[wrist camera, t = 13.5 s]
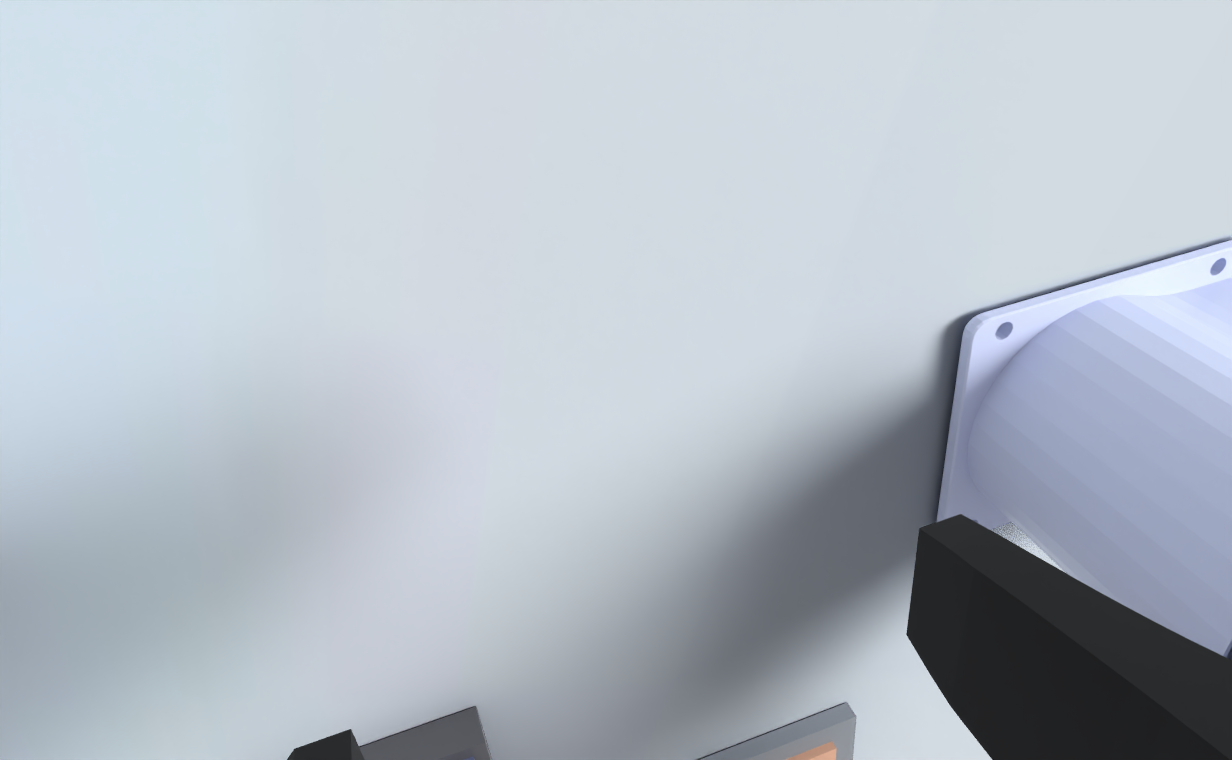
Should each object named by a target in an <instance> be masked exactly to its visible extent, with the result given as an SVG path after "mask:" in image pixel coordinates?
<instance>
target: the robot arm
mask: <svg viewBox="0 0 1232 760" xmlns="http://www.w3.org/2000/svg"><path fill="white" fill-rule="evenodd" d="M1000 325H1001V326H1000ZM999 326H1000V327H999ZM998 327H999V329H998ZM997 329H998V330H997ZM1010 522H1013V523H1014V524H1015V525H1016V526H1017V527H1018V528H1019V529H1020V530H1021V531H1022V532H1023V533H1024V534H1025V535H1026V536H1027V537H1029V538H1030V539H1031V540H1032V541H1033V542H1034V543H1035V544H1036V545H1037V546H1038V547H1039V548H1040V549H1041V550H1042V551H1043V552H1044V553H1046V554H1047V555H1048V556H1049V557H1050V558H1051V559H1052V560H1053V561H1054V562H1055V563H1056V564H1057V565H1058V566H1059V567H1060V568H1061V569H1062V570H1064V571H1065V572H1066V573H1067V574H1066V573H1065V572H1063V571H1061V570H1059V569H1058V568H1056V567H1054V566H1052V565H1050V564H1049V563H1047V562H1045V561H1043V560H1042V559H1040V558H1038V557H1036V556H1035V555H1033V554H1031V553H1029V552H1028V551H1026V550H1024V549H1022V548H1021V547H1019V546H1017V545H1015V544H1014V543H1012V542H1010V541H1008V540H1007V539H1005V538H1003V537H1001V536H1000V535H998V534H996V533H994V532H993V531H991V529H993V528H996V527H999V526H1002V525H1005V524H1008V523H1010ZM907 636H908V638H909V640H910V641H911V643H912V645H913V646H914V648H915V650H916V651H917V653H918V655H919V656H920V658H921V660H922V661H923V663H924V665H925V666H926V668H927V670H928V671H929V673H930V675H931V676H932V678H933V679H934V681H935V682H936V684H937V686H938V687H939V689H940V690H941V692H942V693H943V695H944V697H945V698H946V700H947V701H948V703H949V704H950V706H951V707H952V709H953V710H954V711H955V712H956V714H957V715H958V716H959V718H960V719H961V720H962V722H963V723H964V724H965V725H966V727H967V728H968V729H969V730H970V732H971V733H972V734H973V736H974V737H975V738H976V739H977V741H978V742H979V743H980V744H981V746H982V747H983V748H984V749H985V751H986V752H987V753H988V755H989V756H990V757H991V758H992V760H1232V240H1230V241H1226V242H1223V243H1220V244H1216V245H1213V246H1209V247H1206V248H1203V249H1199V250H1196V251H1192V252H1189V253H1185V254H1182V255H1179V256H1175V257H1172V258H1168V259H1165V260H1161V261H1158V262H1155V263H1151V264H1148V265H1144V266H1141V267H1138V268H1134V269H1131V270H1127V271H1124V272H1120V273H1117V274H1114V275H1110V276H1107V277H1103V278H1100V279H1096V280H1093V281H1090V282H1086V283H1083V284H1079V285H1076V286H1073V287H1069V288H1066V289H1062V290H1059V291H1055V292H1052V293H1049V294H1045V295H1042V296H1038V297H1035V298H1031V299H1028V300H1025V301H1021V302H1018V303H1014V304H1011V305H1008V306H1004V307H1001V308H997V309H994V310H990V311H987V312H984V313H981V314H979V315H977V316H975V317H973V318H972V319H971V320H970V321H969V322H968V323H967V325H966V326H965V329H964V332H963V336H962V343H961V350H960V357H959V365H958V372H957V379H956V386H955V393H954V400H953V407H952V415H951V422H950V429H949V436H948V443H947V450H946V457H945V465H944V472H943V479H942V486H941V493H940V500H939V507H938V514H937V522H936V523H933V524H930V525H928V526H925V527H922V528H919V536H918V544H917V553H916V561H915V569H914V577H913V586H912V594H911V602H910V610H909V619H908V627H907ZM287 760H365V759H364V757H363V755H362V753H361V751H360V748H359V746H358V744H357V742H356V739H355V737H354V735H353V733H352V731H351V729H350V730H347V731H344V732H341V733H338V734H335V735H333V736H330V737H327V738H324V739H321V740H318V741H316V742H313V743H310V744H307V745H304V746H301V747H299V748H296V749H294V751H293V752H292V753H291V755H290V756H289V757H288V759H287Z"/></svg>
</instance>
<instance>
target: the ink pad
mask: <svg viewBox="0 0 1232 760" xmlns="http://www.w3.org/2000/svg"><path fill="white" fill-rule="evenodd" d="M359 748H360V751H361V753H362V755H363V757H364V759H365V760H492V758H491V754H490V751H489V748H488V744H487V741H486V738H485V734H484V731H483V728H482V725H481V721H480V718H479V715H478V711H477V708H476V706H475V707H473V708H470V709H467V710H464V711H461V712H458V713H456V714H453V715H450V716H447V717H444V718H441V719H439V720H436V721H433V722H430V723H427V724H424V725H422V726H419V727H416V728H413V729H410V730H407V731H405V732H402V733H399V734H396V735H393V736H390V737H388V738H385V739H382V740H379V741H376V742H373V743H371V744H368V745H365V746H362V747H359Z"/></svg>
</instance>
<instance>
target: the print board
mask: <svg viewBox="0 0 1232 760" xmlns="http://www.w3.org/2000/svg"><path fill="white" fill-rule="evenodd" d="M855 727H856V715H855V714H854V712H853V711H852V709H851V708H850V706H849V705H848V703H844V704H842V705H839V706H837V707H834V708H831V709H829V710H826V711H824V712H821V713H818V714H816V715H813V716H811V717H808V718H806V719H803V720H800V721H798V722H795V723H793V724H790V725H788V726H785V727H782V728H780V729H777V730H775V731H772V732H769V733H767V734H764V735H762V736H759V737H757V738H754V739H751V740H749V741H746V742H744V743H741V744H738V745H736V746H733V747H731V748H728V749H726V750H723V751H720V752H718V753H715V754H713V755H710V756H708V757H705V758H702V759H700V760H853V750H854V738H855Z"/></svg>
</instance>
